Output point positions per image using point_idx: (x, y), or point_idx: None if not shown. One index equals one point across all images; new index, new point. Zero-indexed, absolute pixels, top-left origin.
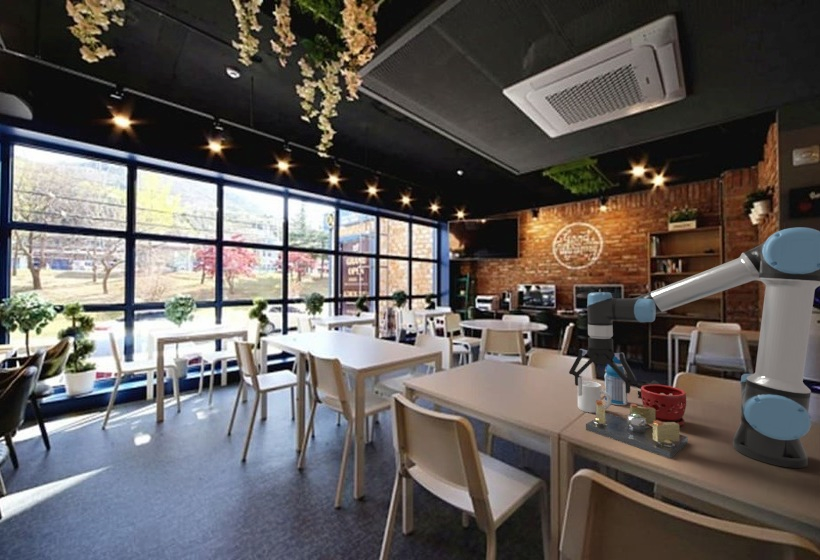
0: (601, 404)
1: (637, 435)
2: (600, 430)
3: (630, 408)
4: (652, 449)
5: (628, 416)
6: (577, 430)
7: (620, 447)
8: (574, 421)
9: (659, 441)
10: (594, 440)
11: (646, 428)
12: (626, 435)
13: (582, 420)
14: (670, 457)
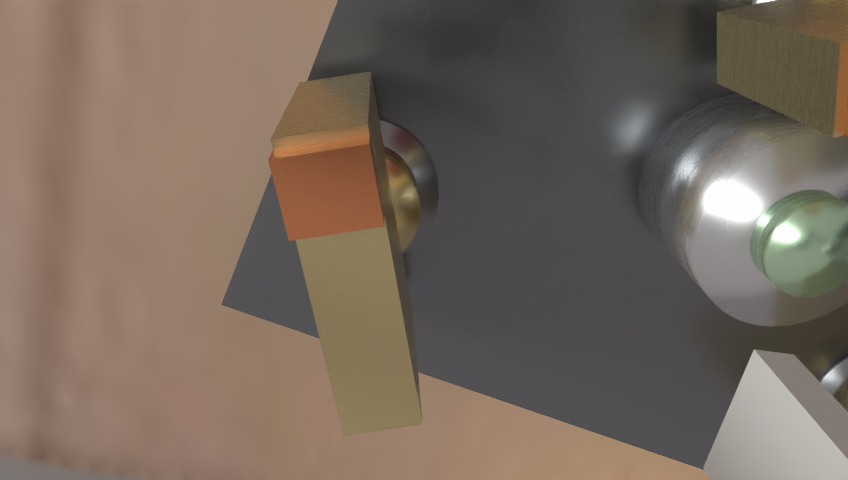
0: (370, 246)
1: (683, 347)
2: None
3: (811, 76)
4: None
5: (697, 272)
6: (166, 326)
7: (511, 469)
8: (76, 96)
9: None
10: (328, 448)
11: None
12: (586, 392)
13: (151, 8)
14: None
